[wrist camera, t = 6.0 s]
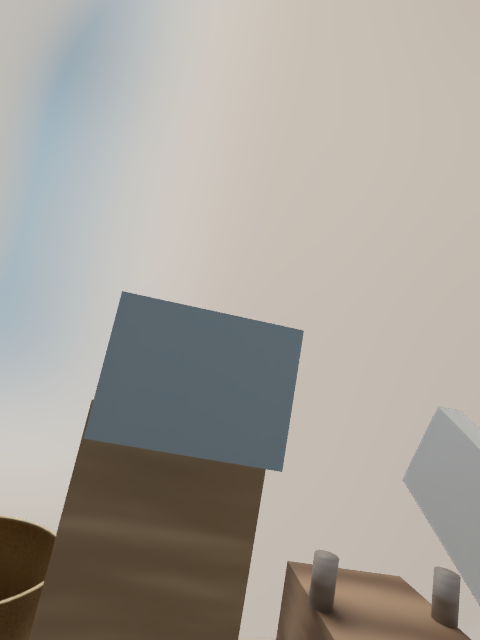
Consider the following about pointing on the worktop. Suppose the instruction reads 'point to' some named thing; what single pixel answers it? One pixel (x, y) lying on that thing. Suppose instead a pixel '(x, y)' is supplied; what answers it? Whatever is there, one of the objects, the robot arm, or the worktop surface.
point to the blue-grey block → (196, 383)
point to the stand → (150, 547)
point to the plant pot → (22, 574)
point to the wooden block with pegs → (364, 604)
